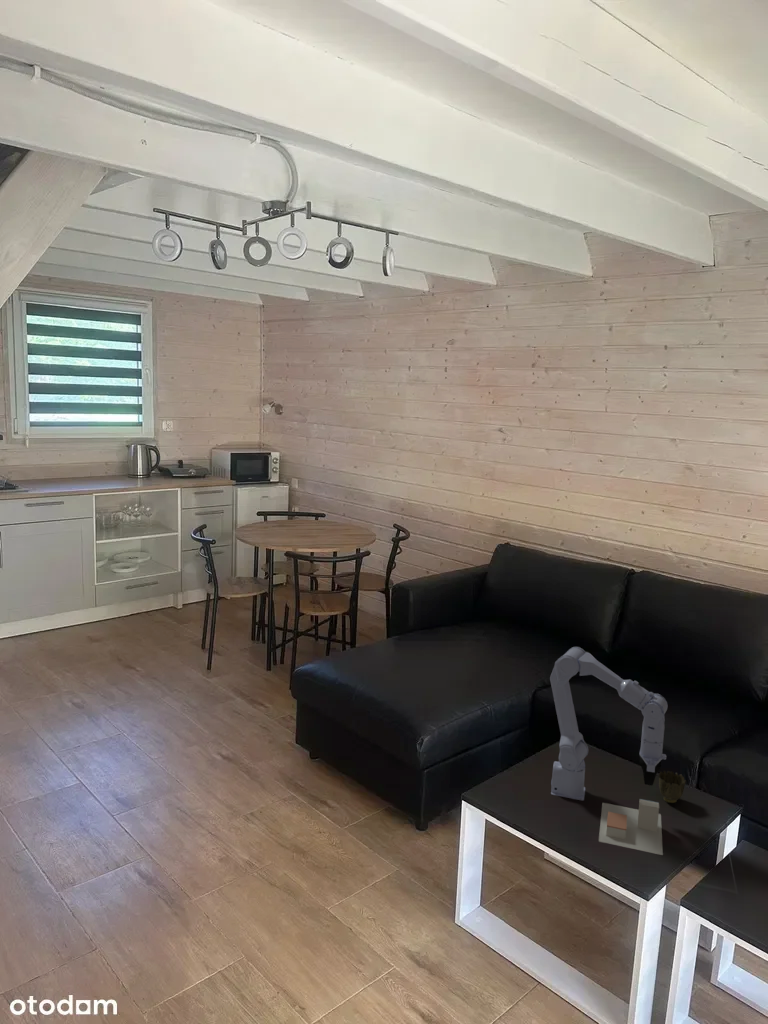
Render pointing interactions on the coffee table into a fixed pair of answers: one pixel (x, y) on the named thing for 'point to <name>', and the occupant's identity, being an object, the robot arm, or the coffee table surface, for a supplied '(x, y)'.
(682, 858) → the coffee table surface
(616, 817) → the slab
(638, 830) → the mat
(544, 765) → the coffee table surface
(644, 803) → the slab
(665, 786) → the cup
